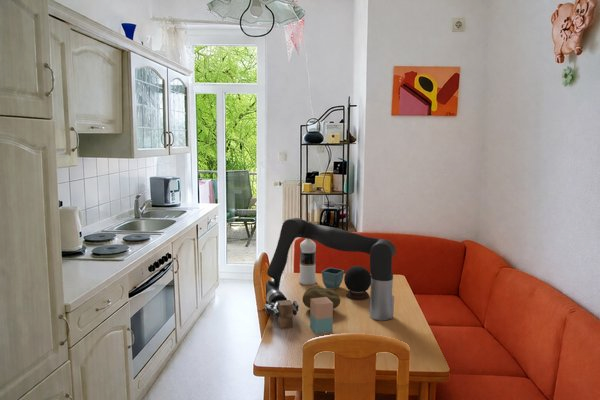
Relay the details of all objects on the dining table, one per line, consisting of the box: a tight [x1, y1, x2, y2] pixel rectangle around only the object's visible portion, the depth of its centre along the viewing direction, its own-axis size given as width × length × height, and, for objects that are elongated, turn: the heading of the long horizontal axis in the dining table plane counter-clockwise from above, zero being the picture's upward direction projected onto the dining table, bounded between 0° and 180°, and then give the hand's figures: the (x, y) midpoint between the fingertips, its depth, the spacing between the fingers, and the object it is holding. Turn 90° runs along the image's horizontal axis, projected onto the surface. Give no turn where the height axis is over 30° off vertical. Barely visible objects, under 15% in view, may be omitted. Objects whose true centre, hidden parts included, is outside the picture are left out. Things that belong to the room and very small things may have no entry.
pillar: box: [277, 299, 294, 330], centre depth 181 cm, size 5×5×10 cm
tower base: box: [309, 312, 334, 335], centre depth 178 cm, size 7×7×6 cm
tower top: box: [309, 297, 334, 320], centre depth 177 cm, size 7×7×6 cm
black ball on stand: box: [343, 265, 371, 301], centre depth 216 cm, size 13×13×15 cm
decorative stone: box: [302, 285, 341, 310], centre depth 198 cm, size 17×11×10 cm, turn 79°
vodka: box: [298, 238, 317, 286], centre depth 234 cm, size 9×9×30 cm
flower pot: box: [321, 267, 345, 290], centre depth 228 cm, size 9×9×9 cm
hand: (286, 314), depth 178 cm, fingers open, 6 cm apart
